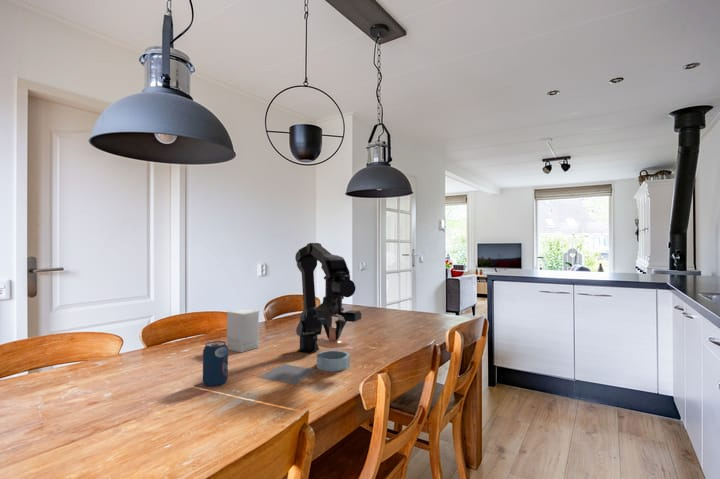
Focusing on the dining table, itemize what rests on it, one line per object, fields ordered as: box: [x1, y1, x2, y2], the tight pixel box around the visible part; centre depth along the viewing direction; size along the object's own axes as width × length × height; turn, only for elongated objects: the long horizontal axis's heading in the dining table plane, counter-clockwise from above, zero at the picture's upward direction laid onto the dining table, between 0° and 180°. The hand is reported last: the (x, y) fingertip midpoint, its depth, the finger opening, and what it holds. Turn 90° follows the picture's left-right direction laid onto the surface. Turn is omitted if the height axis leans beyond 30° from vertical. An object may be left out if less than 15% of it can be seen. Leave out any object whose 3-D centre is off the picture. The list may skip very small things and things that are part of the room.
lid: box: [317, 325, 350, 349], centre depth 127 cm, size 11×11×6 cm
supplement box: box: [226, 308, 260, 353], centre depth 148 cm, size 9×9×15 cm
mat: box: [257, 363, 320, 385], centre depth 118 cm, size 14×14×1 cm
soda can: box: [202, 340, 229, 387], centre depth 110 cm, size 7×7×12 cm
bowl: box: [316, 349, 351, 372], centre depth 127 cm, size 11×11×4 cm
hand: (333, 339), depth 127 cm, fingers closed on lid, 3 cm apart
